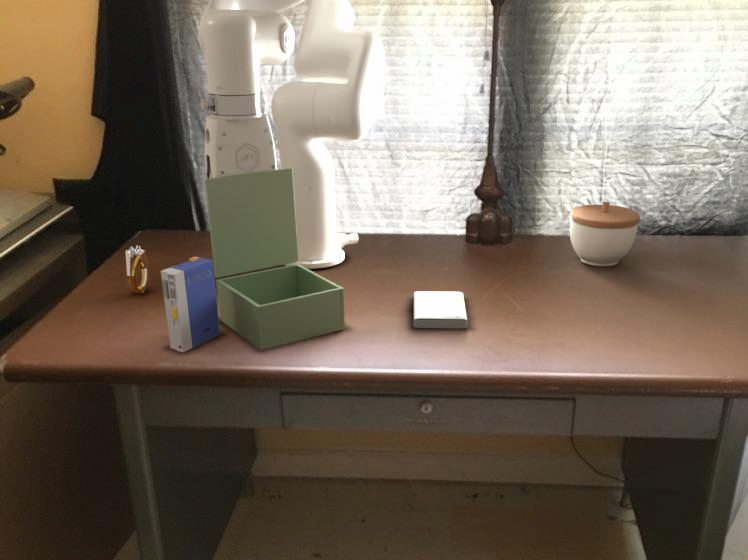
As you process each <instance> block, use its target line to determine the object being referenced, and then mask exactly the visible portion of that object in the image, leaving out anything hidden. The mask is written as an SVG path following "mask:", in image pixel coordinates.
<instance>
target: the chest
mask: <svg viewBox="0 0 748 560" xmlns="http://www.w3.org/2000/svg"><path fill="white" fill-rule="evenodd" d="M215 284H216V294H217V304H218V314H219V321H221V322H222V323H224V324H225V325H226V326H228V327H229V328H230V329H232V330H233V331H235V332H236V333H237V334H238V335H240V336H241V337H243V338H244V339H245V340H246V341H248V342H249V343H251V344H252V345H253V346H255V347H256V348H257V349H259V350H261V351H262V350H267V349H272V348H274V347H279V346H283V345H288V344H291V343H295V342H298V341H299V342H300V341H302V340H307V339H310V338H314V337H315V338H316V337H319V336H324V335H327V334H331V333H335V332H339V331H343V330H345V328H346V326H345V325H346V322H345V321H346V320H345V319H346V318H345V289H344V287H342V286H340V285H339V284H337V283H335V282H333V281H331V280H330V279H327V278H325V277H324V276H322V275H320V274H318V273H316V272H315V271H312V269H307V268H305V267H303V266H301V265H299V264H294V265H289V266H286V265H283V266H278V267H274V268H268V269H263V270H257V271H252V272H247V273H242V274H237V275H233V276H227V277H224V278H223V277H222V278H219V279H218V278H217V279H216V280H215Z"/></svg>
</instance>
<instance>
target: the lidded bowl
mask: <svg viewBox="0 0 748 560" xmlns="http://www.w3.org/2000/svg"><path fill="white" fill-rule="evenodd" d="M569 212H570V213H569V218H570V220H569V238H570V239H569V240H570V244H571V247H572V249H573V251H574V252H575V254H576V255H577V256H578V257H579V260H580V262H582V263H584V264H587V265H590V266H596V267H610V266H616V265H618V264H619V263H620V261H621V260H623V259H624V258H625V257H626V256H627V255H628V254H629V253H630V251H631V250H632V248H633V246H634V244H635V241H636V237H637V233H638V230H639V229H638V228H639V223H640V220H641V215H640V213H639V212H637V211H636V210H634V209H632V208H628V207H624V206H619V205H614V204H613V205H612V204H610V201H602V204H584V205H579V206H576V207H573V208H572V209H571V210H570V211H569Z"/></svg>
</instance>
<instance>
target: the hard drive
mask: <svg viewBox="0 0 748 560" xmlns="http://www.w3.org/2000/svg"><path fill="white" fill-rule="evenodd" d="M413 327H414V328H418V329H466V328H468V316H467V309H466V303H465V298H464V293H463V291H462V292H461V291H431V290H429V291H426V290H425V291H420V290H419V291H414V292H413Z"/></svg>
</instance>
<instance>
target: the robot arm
mask: <svg viewBox="0 0 748 560" xmlns="http://www.w3.org/2000/svg"><path fill="white" fill-rule="evenodd" d="M305 1H306V4H307V5H306V6H307V9H306V13H305V16H304V17H305V18H304V21H303V25H302V29H301V32H300V36H299V39H298V43H297V47H296V51H295V55H294V65H293V66H294V72H295V74H296V76H297V78H298V79H299V81H290V82H286V83H284V84H282V85H280V86H278V87H277V89H276V90H275V91H274V93H273V95H272V99H271V107H270V108H271V116H272V121H273V125H274V129H275V133H276V137H277V143H278V144H277V145H278V150H279V160H280V169H284V168H292V173H293V188H294V203H295V218H296V232H297V247H298V262H295V263H290V264H285V265H284V266H289V265H294V264H299V265H301V266H303V267H305V268H307V269H309V270H313V269H314V270H315V269H317V270H318V269H324V268H330V267H334V266H336V265H339V264H341V263H342V262H343V261H345V258H346V257H345V256H346V255H345V251H344V250H343V248H344V247H346V245H355V244H358V243H359V235H358V234H357V233H355V232H354V233H350V234H346V233H344V232H340V233H339V232H337V231H336V229H337V227H336V196H335V195H336V194H335V166H334V161H333V158H332V156H331V154H330V152H329V150H328V149H327V147H326V146H325V144H324V142H323V141H328V142H329V141H330V142H345V143H353V142H359V141H361V140H363V139H364V138H365V137H366V136H367V134H368V132H369V130H370V128H371V125H372V121H373V117H374V113H375V109H376V105H377V101H378V97H379V93H380V89H381V85H382V80H383V78H384V77H383V76H384V70H385V51H384V46H383V43H382V41H381V39H380V37H378V36H377V35H376V33H374V32H372V31H369V30H364V29H353V26H354V21H355V13H354V10H353V7H352V5H351V3H350V2H349V0H209V1H208V3H207V5H206V7H205V8H204V11H203V13H202V15H201V18H200V20H199V24H198V32H197V35H198V36H197V38H198V43H199V47H200V49H201V51H202V54H204V59H205V70H206V80H207V91H208V93H207V95H206V96H207V98H205V99H201V100H200V108H201V110H203V111H205V110H206V111H208V113H209V114H210V115H208V116H206V121H205V127H204V146H203V147H204V148H203V149H204V168H205V177H206V179H208V178H215V177H224V176H232V175H240V174H248V173H256V172H263V171H270V170H277V169H278V164H277V155H276V148H275V141H274V136H273V131H272V126H271V123H270V119H269V115H268V114H266V113H263V108H262V107H263V106H262V94H261V91H262V90H261V77H260V76H261V75H260V66H276V65H280V64H282V63H284V62H286V61H287V60H288V59H289V58H290V57H291V55H292V53H293V52H294V49H295V44H296V43H295V42H296V34H295V29H294V27H293V25H292V23H291V21H290V20H289V19H288V18H287V16H285V15H284V14H282V13H280V12H282V11H285V10H289V9H291V8H294V7H297V6H298V5H300V4H302V3H304V2H305Z"/></svg>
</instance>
